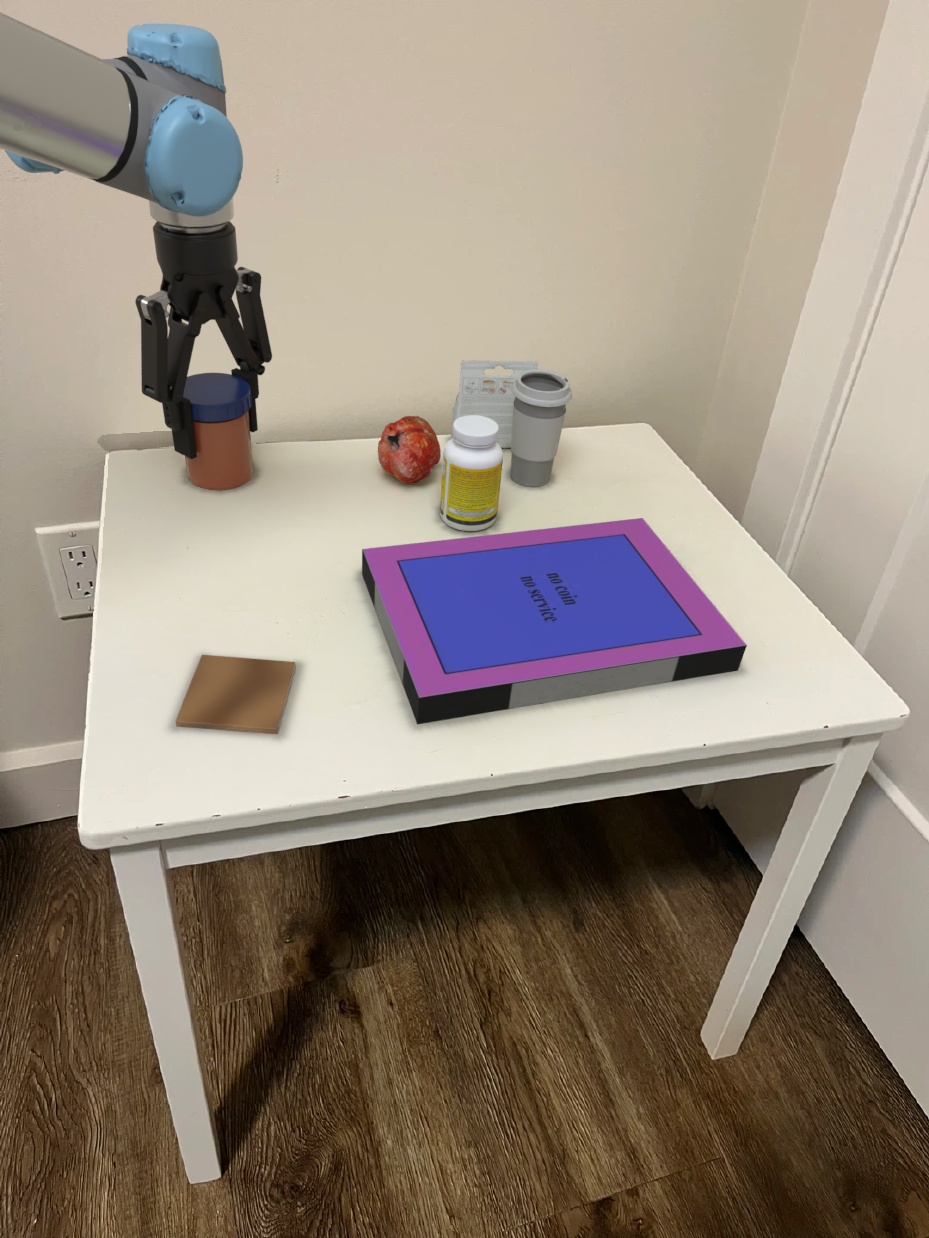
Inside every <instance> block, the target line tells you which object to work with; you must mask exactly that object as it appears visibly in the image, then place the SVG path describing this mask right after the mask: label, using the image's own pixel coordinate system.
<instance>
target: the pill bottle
mask: <svg viewBox="0 0 929 1238" xmlns="http://www.w3.org/2000/svg"><path fill="white" fill-rule="evenodd" d="M451 431H452V437H453V438H452V437H451V438H450V440H448V441H447V443H446V444H445V446H444V448H443V454H442V469H441V470H442V472H441V483H440V501H439V502H440V503H439V515H440V518H441V520H442V522H444V524H446V525H447V526H448V527H451V528H452V529H455V530H458V531H462V532H463V531H464V532H477V531H483V530H485V529H488V528H490V527H491V526H493V524H494V523H495V522H496V519H497V515H498V506H499V500H500V499H499V498H500V490H501V489H500V488H501V480H502V471H503V460H504V452H503V449H502V448H501V447H500V445H499V444H498V443H497V439H498V432H499V427H498V424H497V423H496V422H495V421H493V420H492V419H490V418H487V417H484V416H478V415H467V416H462V417H459V418H457V419H456V420H455V421H454V423H453V429H452V428H451Z"/></svg>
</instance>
